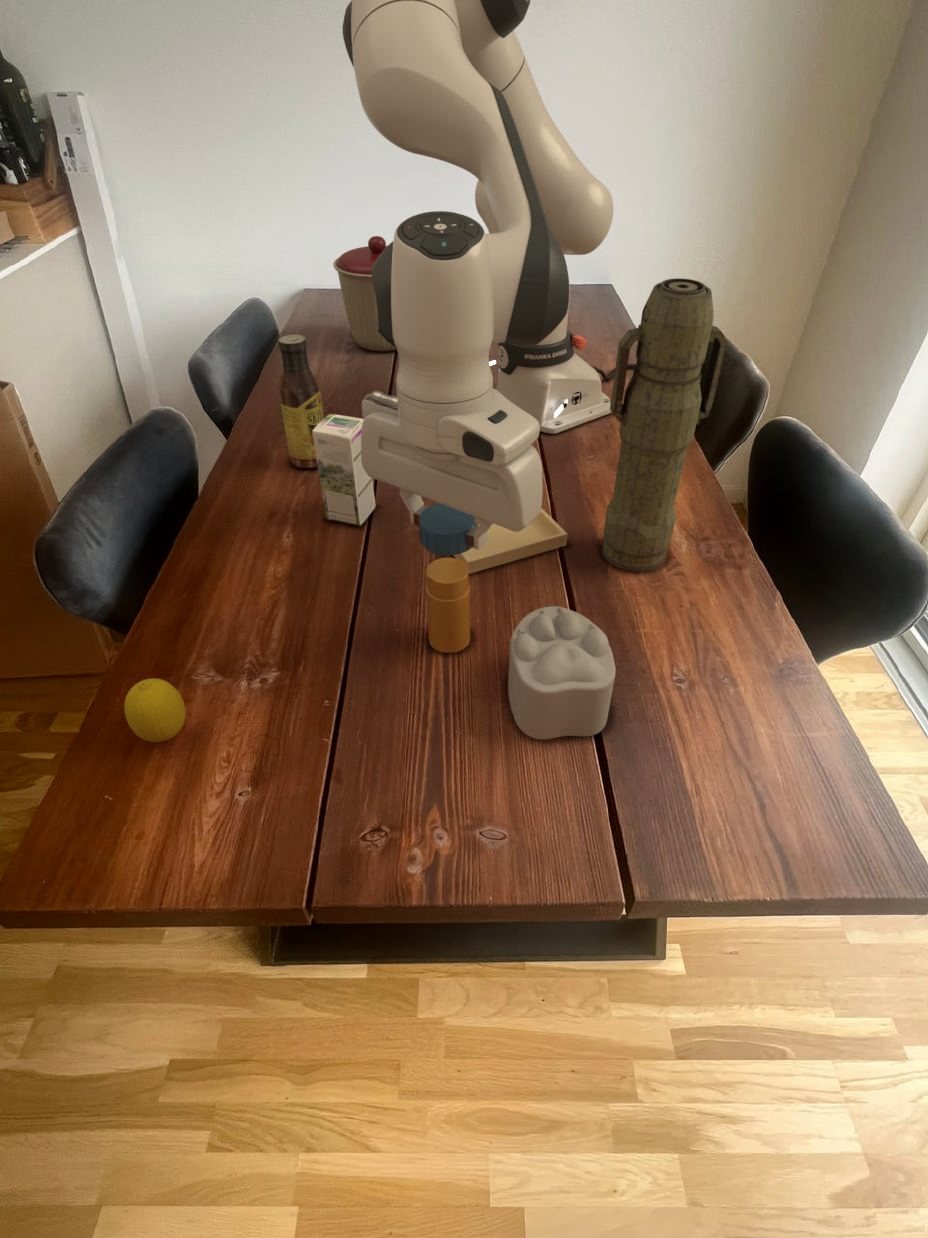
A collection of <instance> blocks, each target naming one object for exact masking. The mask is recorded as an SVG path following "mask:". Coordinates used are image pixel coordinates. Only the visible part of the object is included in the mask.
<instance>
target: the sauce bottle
mask: <svg viewBox="0 0 928 1238" xmlns="http://www.w3.org/2000/svg"><path fill="white" fill-rule="evenodd" d="M277 343H278V349H279V350H280V354H281V359H282V368H283V372H282V374H281V375H280V380H279V383H278V390H279V396H280V406H281V412H282V418H283V424H284V425H283V426H284V432H285V437H286V443H287V449H288V453H289V454H288V455H289V456H290V461H291V463H292V465H293V466H294V467H296V468H299V469H307V470H309V469H310V470H311V469H314V468H315V469H316V468H318V464H317V458H316V452H315V446H314V440H313V433H312V432H313V431H312V430H313V429H314V428H315V427H316V426H317V425H318V424H319V423H320V422H321V421H322V420H323V419H324V418H325V417H324V409H323V402H322V401H323V400H322V394H321V389H320V388H321V387H320V386H319V384H318V382H317V380H316V378H315V375H314V374H313V372H312V370H311V368H310V363H309V361H308V352H307V348H308V345H307V339H306V337H305V336H304V335H301V334H287V335H283V336H281V337H279V338H278V339H277Z"/></svg>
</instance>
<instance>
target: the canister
mask: <svg viewBox="0 0 928 1238" xmlns="http://www.w3.org/2000/svg"><path fill="white" fill-rule="evenodd" d="M367 245H368V246H361V247H357V248H352V249H349V250H347V251H346V252H343V253H342V254H341V255H340V256H339V257H337V258H336V259H335V260H334V261H333V263H332V264H333V268H334V270H335V271H336V272H337V275H338V280H339V286H340V289H341V294H342V299H343V303H344V308H345V313H346V317H347V321H348V326H349V330H350V333H351V337H352V338H353V340H354V342H355V343H356V344H357V345H358V347H361V348H363V349H365V350H368V351H372V352H373V351H374V352H393V351H397V349H396V348H394V347H393V346H392V345H391V344H389V343H388V342H387V341H386V340H385V338H384V337H383V336H382V335H381V334H380V333H379V332H378V331H377V329H376V324H377V318H378V312H377V301H376V294H375V289H374V285H373V280H372V266H373V264H374V263H375V261H376V260H377V259H378V257H379V256H380V255H381V253H382V252H383V251H384V249H385V248H386V247H387V246H388V245H387V242H386V239H385V238H384V237H382V236H380V235H374V236H371V237H370V238H369V239H368V241H367Z"/></svg>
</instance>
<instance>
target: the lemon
mask: <svg viewBox="0 0 928 1238" xmlns="http://www.w3.org/2000/svg"><path fill="white" fill-rule="evenodd" d="M123 709H124V715H125V719H126V721H127V724H128V726H129V728H130V730H131V731H132V732H133V733H134V734H135V736H137V737H139V738H141V739H142V740H143V741H147V742H150V743H161V742H166V741H168V740H170V739H172V738H174V737H175V736H176V735H178V733H179V732H180V731H181V730H182V728H183V726H184V725H185V722H186V721H185V720H186V716H187V713H186V712H187V711H186V706H185V702H184V699H183V697H182V695H181V694H180V693H179V691H178V689H177V688H176V687H175V686H174V685H172V683H170V682H168V681H167V680H164V679H161V678H147V679H142V680H140V681H139V682H137V683H135V684H134V685H133V686H132V687H131V688H130V689H129V691H128V692H127V694H126V696H125V698H124V707H123Z"/></svg>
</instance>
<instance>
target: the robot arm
mask: <svg viewBox="0 0 928 1238" xmlns="http://www.w3.org/2000/svg"><path fill="white" fill-rule="evenodd" d="M530 4H531V0H351V1H350V2H349V3H348V5H347V6H346V8H345V11H344V17H343V22H342V38H343V43H344V46H345V50H346V53H347V56H348V58H349V60H350V63H351V65H352V67H353V71H354V76H355V82H356V87H357V92H358V96H359V100H360V103H361V107H362V110H363V112H364V115H365V116H366V118H367V120H368V121H369V122H370V124H371V126H373V128H374V129H376V131H377V132H378V133H379V134H380V135H381V136H382V137H383V138H384V139H386V141H388V142H389V143H391V144H393V145H394V146H396V147H397V148H399V149H402V150H404V151H405V152H408V153H411V154H415V155H419V156H424V157H427V158H431V159H434V160H438V161H442V162H445V163H447V164H450V165H453V166H455V167H458V168H460V169H462V170H465V171H466V172H468V173H470V174H472V175H473V176H474V177H475V178H476V179H478V180H477V182H476V186H475V191H474V203H475V208H476V210H477V213H478V215H479V217H480V219H481V220H482V222H483V223H484V225H485V228H486V229H487V231H488V233H486V230H485V228H484V227H483V226H482V224H481V223H479V222H478V221H477V220H475V219H474V218H472V217H470V216H468V215H465V214H462V213H458V212H452V211H446V210H445V211H443V210H436V211H435V210H434V211H426V212H421V213H418V214H415V215H412V216H410V217H409V218H408V217H407V218H405V220H403V221H402V222H400V224H399V225H398V226H397V227H396V229H395V231H394V235H393V240H392V241H391V242H390V243H389V244H388V245H386V246H387V247H386V248H385V249H384V251H383V252H382V253H381V255H380V256H379V257H378V259H377V260H376V261H375V263H374V264H373V266H372V280H373V285H374V289H375V294H376V301H377V312H378V318H377V324H376V329H377V331H378V332H379V333H380V334H381V335H382V336H383V337H384V338H385V340H386V341H387V342H388V343H389V344H391V345H392V346H393V347H394V348H396V349H397V350H396V351H397V355H398V367H397V372H396V377H395V378H396V379H395V385H396V386H395V387H396V396H395V395H390V394H387V393H385V392H383V391H379V390H373V391H372V392H371V393H367V394H366V395H365V396H364V398H363V399H362V401H361V414H362V419H363V420H364V421H363V424H362V433H361V460H362V466H363V468H364V470H365V472H366V473H367V475H368V476H369V477H371V478H372V479H374V480H376V481H379V482H382V483H384V484H388V485H390V486H392V487H394V488H398V489H399V491H398V492H399V497H400V498H401V500H402V502H403V503H404V505H405V506H406V508H407V510H408V512H409V519H410V524H412V525H415V526H417V527H419V517H420V514H421V513H422V511H423V510H425V509H426V508H427V507H429V506H428V505H425V503H424V500H423V499H427V500H430V501H432V502H435V503H436V504H438V503H440V504H443V505H445V506H448V507H451V508H453V509H456V510H459V511H461V512H464V513H467V514H469V515H472V516H475V523H476V524H478V525H479V524H480V526H477V525H475V526H474V528H473V529H472V530H470V531H468V532H467V533H466V539H467V540H468V541H467V542H466V544H467V545H468V546H470V547H472V548H475V549H477V550H480V549H481V548H483V547H484V546H485V545H486V543H487V531H488V530H489V528H490V527H491V526H492V525H493V524H496V525H498V526H501V527H504V528H506V529H509V530H511V531H514V532H519V531H521V530H522V529H524V528H525V527H527V526H528V525H529V524H530V523H532V522H533V521H534V520H535V519H536V518H537V516H538V515H539V513H540V511H541V508H542V507H543V506H542V505H543V489H544V488H543V487H544V484H543V483H544V482H543V464H542V460H541V459H542V458H541V457H540V454H539V452H538V450H537V449H536V447H535V446H533V444H534V443H535V442H536V441H537V440H538V439H539V436H540V432H541V433H545V434H549V435H550V434H551V435H552V434H553V435H554V434H558V433H562V432H563V431H566V430H569V429H572V428H574V427H577V426H580V425H583V424H585V423H588V422H590V421H593V420H595V419H596V420H597V419H598V418H601V417H604V416H606V415H609V414H612V412H611V410H610V404H611V399H610V398H609V396H607V394H605V393H604V392H603V389H602V388H603V387H602V380H601V377H602V378H603V380H604V381H610V380H611V379H613V378H614V376H615V368H613V370H612V371H611V372H610V374H608V375H607V374H606V372H605V371H604V370H603V369H601V368H598V367H597V366H595V365H591V364H589V363H588V362H587V361H585V360H584V359H583V358H582V357H581V356H579V355H578V354H577V353H575V351H574V348H576V349H577V350H578V351H583V350H584V349H585V348H586V347H587V345H588V344H587V339H586V338H584V337H582V336H581V335H579V334H576V335H574V333H573V332H571V331H569V330H568V321H569V311H570V299H571V297H570V296H571V287H570V275H569V271H568V265H567V260H566V257H565V256H583V255H588V254H590V253H592V252H594V251H595V250H596V249H598V248H599V247H600V245H601V244H602V243H603V242H604V240H605V239H606V237H607V236H608V234H609V232H610V229H611V226H612V223H613V218H614V201H613V196H612V194H611V192H610V190H609V188H608V187H607V186H606V185H605V184H604V183H603V182H601V181H600V180H599V179H598V178H597V177H596V176H595V175H593V173H591V171H590V170H589V169H588V168H587V167H586V166H585V165H584V163H583V162H582V161H581V159H580V158H579V157H578V155H577V154H576V153H575V151H574V150H573V148H572V147H571V145H570V144H569V143H568V141H567V139H566V138H565V137H564V135H563V134H562V132H561V131H560V130H559V128H558V126H557V125H556V124H555V122H554V121H553V118H552V117H551V114H550V113H549V112H548V110H547V107H546V106H545V104H544V101H543V98H542V96H541V94H540V91H539V89H538V86H537V84H536V81H535V79H534V76H533V74H532V71H531V69H530V67H529V64H528V61H527V58H526V55H525V53H524V51H523V49H522V46H521V43H520V41H519V38H518V36H517V34H516V32H515V29H517V28H518V27H519V26H520V25H521V24H522V22H523V21H524V20H525V17H526V15H527V13H528V10H529V7H530ZM492 344H498V345H497V360H496V359H494V360H491V361H490V351H491V346H492ZM496 364H497V366H498V374H497V379H496V380H497V381H496V386H495V388H494V378H493V373H492V369H491V366H493V365H496ZM635 365H636V363H628V367H627V369H634V366H635ZM599 374H600V375H601V377H600V375H599Z"/></svg>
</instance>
